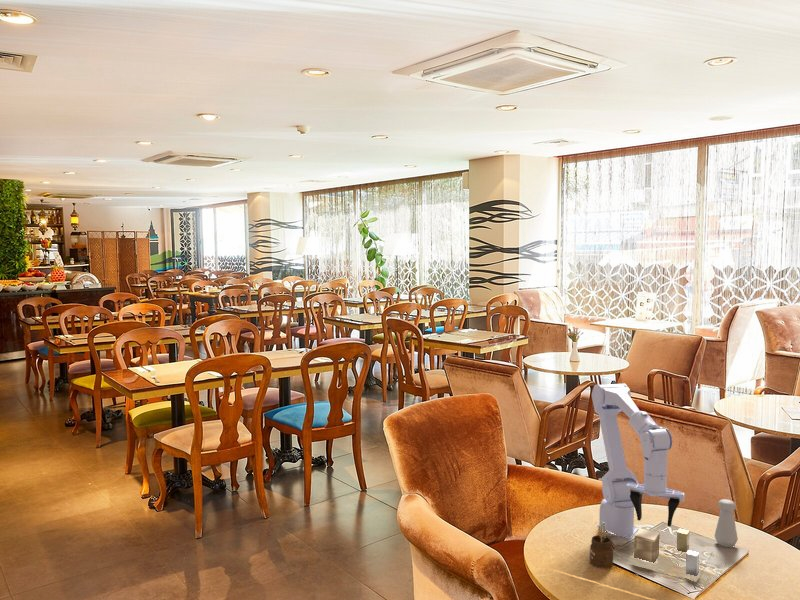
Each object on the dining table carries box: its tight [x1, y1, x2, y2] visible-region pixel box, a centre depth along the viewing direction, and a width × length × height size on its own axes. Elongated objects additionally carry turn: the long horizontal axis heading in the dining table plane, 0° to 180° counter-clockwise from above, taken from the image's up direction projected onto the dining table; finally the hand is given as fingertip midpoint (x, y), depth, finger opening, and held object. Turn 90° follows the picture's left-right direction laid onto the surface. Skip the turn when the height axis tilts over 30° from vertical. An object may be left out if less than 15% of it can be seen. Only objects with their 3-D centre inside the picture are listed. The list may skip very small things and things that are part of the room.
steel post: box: [686, 550, 699, 576], centre depth 166 cm, size 3×3×6 cm
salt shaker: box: [714, 499, 739, 548], centre depth 182 cm, size 6×6×13 cm
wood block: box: [633, 528, 661, 563], centre depth 175 cm, size 5×5×7 cm
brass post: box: [676, 528, 690, 553], centre depth 179 cm, size 3×3×6 cm
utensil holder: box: [589, 522, 614, 569], centre depth 172 cm, size 6×6×12 cm
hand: (654, 522), depth 175 cm, fingers open, 7 cm apart
